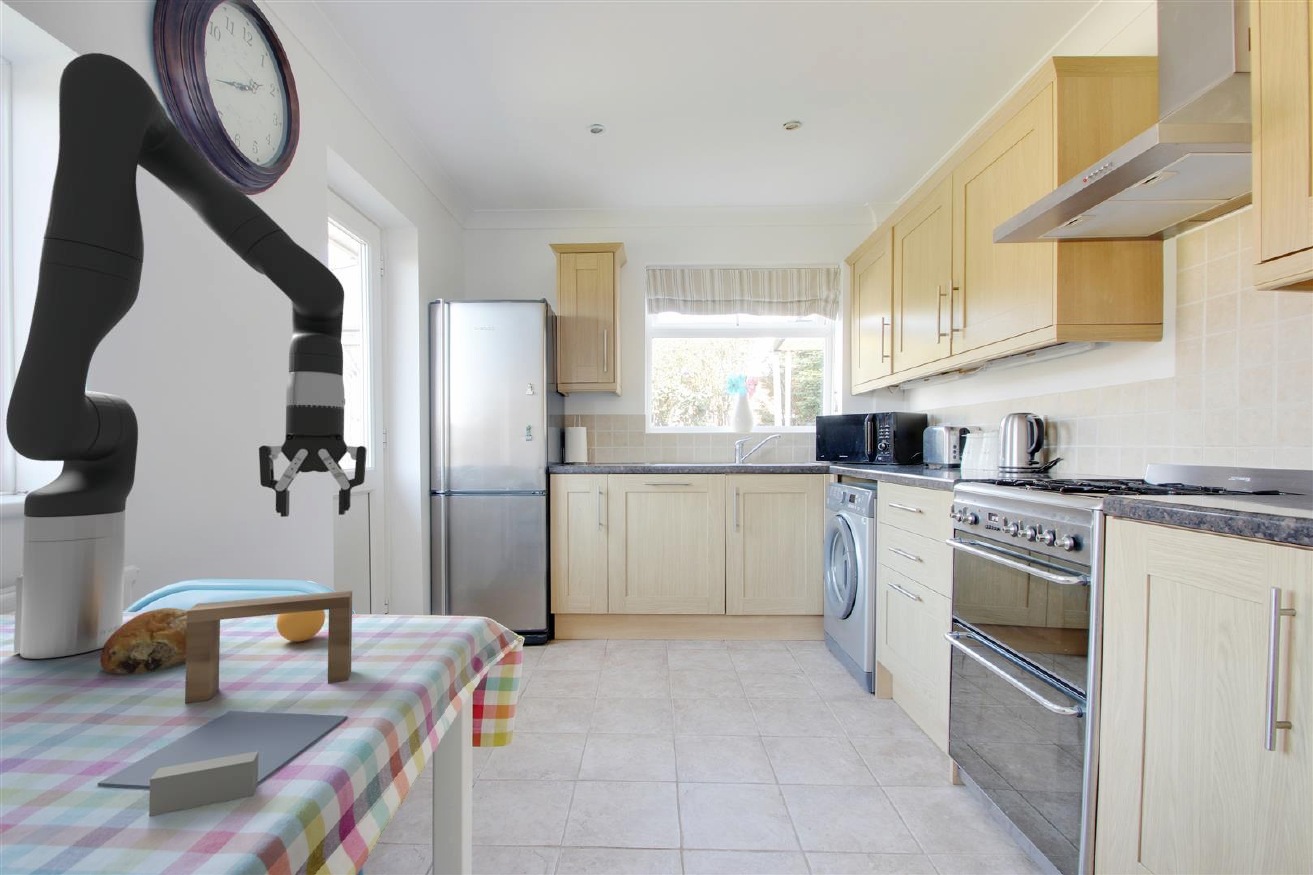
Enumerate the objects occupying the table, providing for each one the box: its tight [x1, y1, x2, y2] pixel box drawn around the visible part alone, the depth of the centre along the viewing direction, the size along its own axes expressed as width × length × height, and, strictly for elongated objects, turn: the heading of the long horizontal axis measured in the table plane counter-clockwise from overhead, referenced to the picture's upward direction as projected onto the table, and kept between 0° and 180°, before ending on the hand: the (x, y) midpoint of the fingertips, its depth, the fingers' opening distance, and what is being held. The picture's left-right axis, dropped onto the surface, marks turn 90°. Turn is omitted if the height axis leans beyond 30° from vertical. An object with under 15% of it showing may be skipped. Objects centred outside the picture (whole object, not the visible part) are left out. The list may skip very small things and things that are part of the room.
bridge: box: [184, 590, 353, 704], centre depth 61 cm, size 3×14×9 cm, turn 113°
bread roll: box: [99, 607, 188, 675], centre depth 69 cm, size 10×10×8 cm
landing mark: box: [97, 710, 348, 790], centre depth 48 cm, size 12×12×1 cm
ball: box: [276, 610, 326, 643], centre depth 76 cm, size 6×6×6 cm
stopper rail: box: [148, 751, 259, 817], centre depth 41 cm, size 2×6×2 cm, turn 113°
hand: (314, 515), depth 85 cm, fingers open, 7 cm apart
